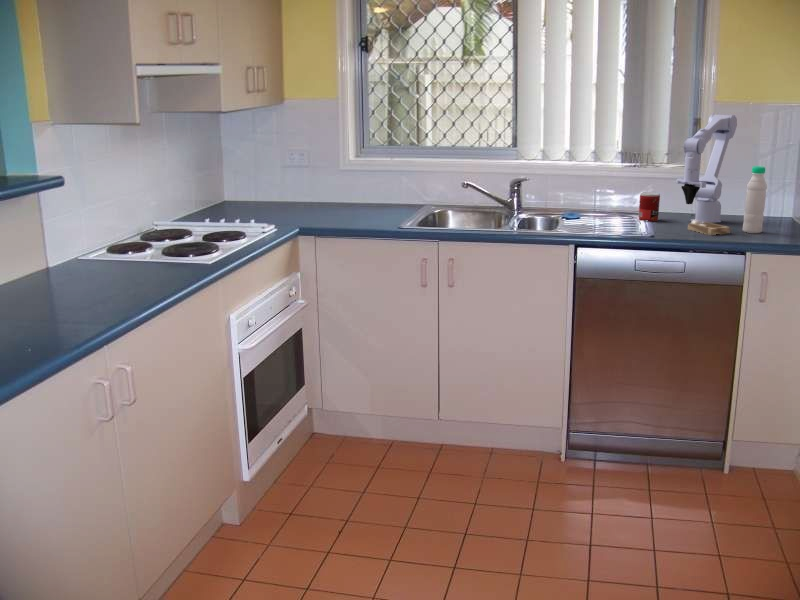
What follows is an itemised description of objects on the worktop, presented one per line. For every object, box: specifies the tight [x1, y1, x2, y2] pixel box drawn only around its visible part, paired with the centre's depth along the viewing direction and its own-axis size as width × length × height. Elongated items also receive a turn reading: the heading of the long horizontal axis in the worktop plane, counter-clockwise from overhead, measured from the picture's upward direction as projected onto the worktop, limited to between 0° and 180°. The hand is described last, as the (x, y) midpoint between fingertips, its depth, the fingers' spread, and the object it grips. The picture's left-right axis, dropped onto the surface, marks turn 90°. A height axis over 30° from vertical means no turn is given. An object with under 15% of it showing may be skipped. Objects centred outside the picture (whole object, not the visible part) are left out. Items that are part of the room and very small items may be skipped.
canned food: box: [638, 191, 661, 222], centre depth 362 cm, size 8×8×11 cm
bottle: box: [690, 220, 709, 227], centre depth 340 cm, size 4×4×8 cm
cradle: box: [687, 222, 731, 236], centre depth 338 cm, size 9×13×2 cm
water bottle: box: [742, 166, 768, 234], centre depth 334 cm, size 7×7×25 cm
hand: (689, 203), depth 346 cm, fingers closed
